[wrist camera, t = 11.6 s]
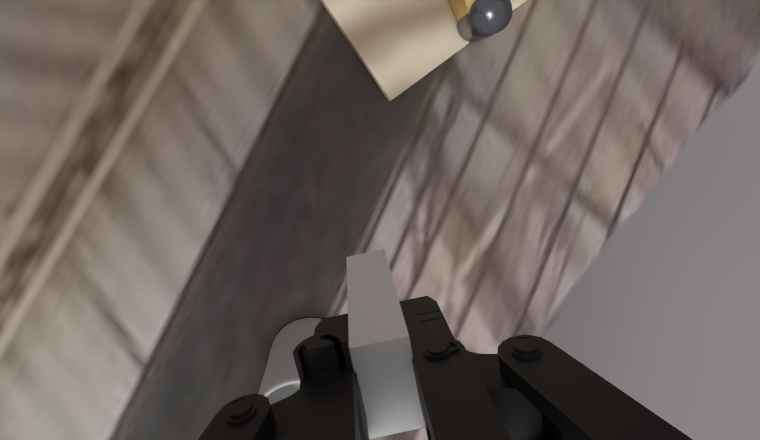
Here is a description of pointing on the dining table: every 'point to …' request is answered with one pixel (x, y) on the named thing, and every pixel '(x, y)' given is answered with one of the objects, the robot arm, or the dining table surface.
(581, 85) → the dining table surface
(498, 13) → the collar
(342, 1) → the post board
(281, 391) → the mug
